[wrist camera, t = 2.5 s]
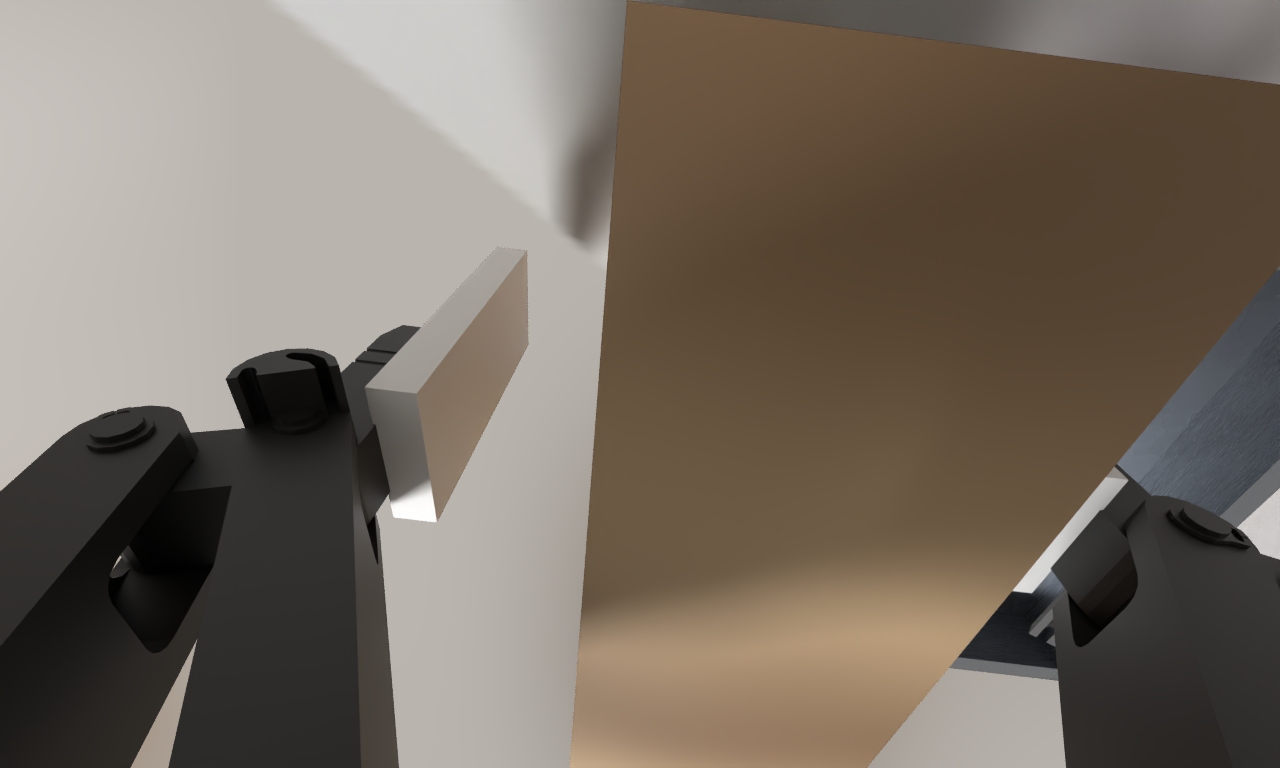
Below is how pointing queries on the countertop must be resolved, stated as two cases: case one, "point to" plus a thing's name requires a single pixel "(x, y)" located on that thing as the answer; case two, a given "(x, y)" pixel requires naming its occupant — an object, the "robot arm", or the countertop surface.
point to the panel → (876, 359)
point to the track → (1176, 469)
